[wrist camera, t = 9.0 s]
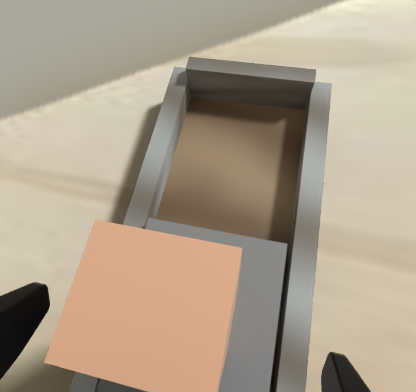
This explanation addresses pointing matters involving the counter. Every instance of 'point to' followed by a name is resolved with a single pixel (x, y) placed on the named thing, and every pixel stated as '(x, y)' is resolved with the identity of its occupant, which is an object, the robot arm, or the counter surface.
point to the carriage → (172, 310)
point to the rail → (243, 178)
